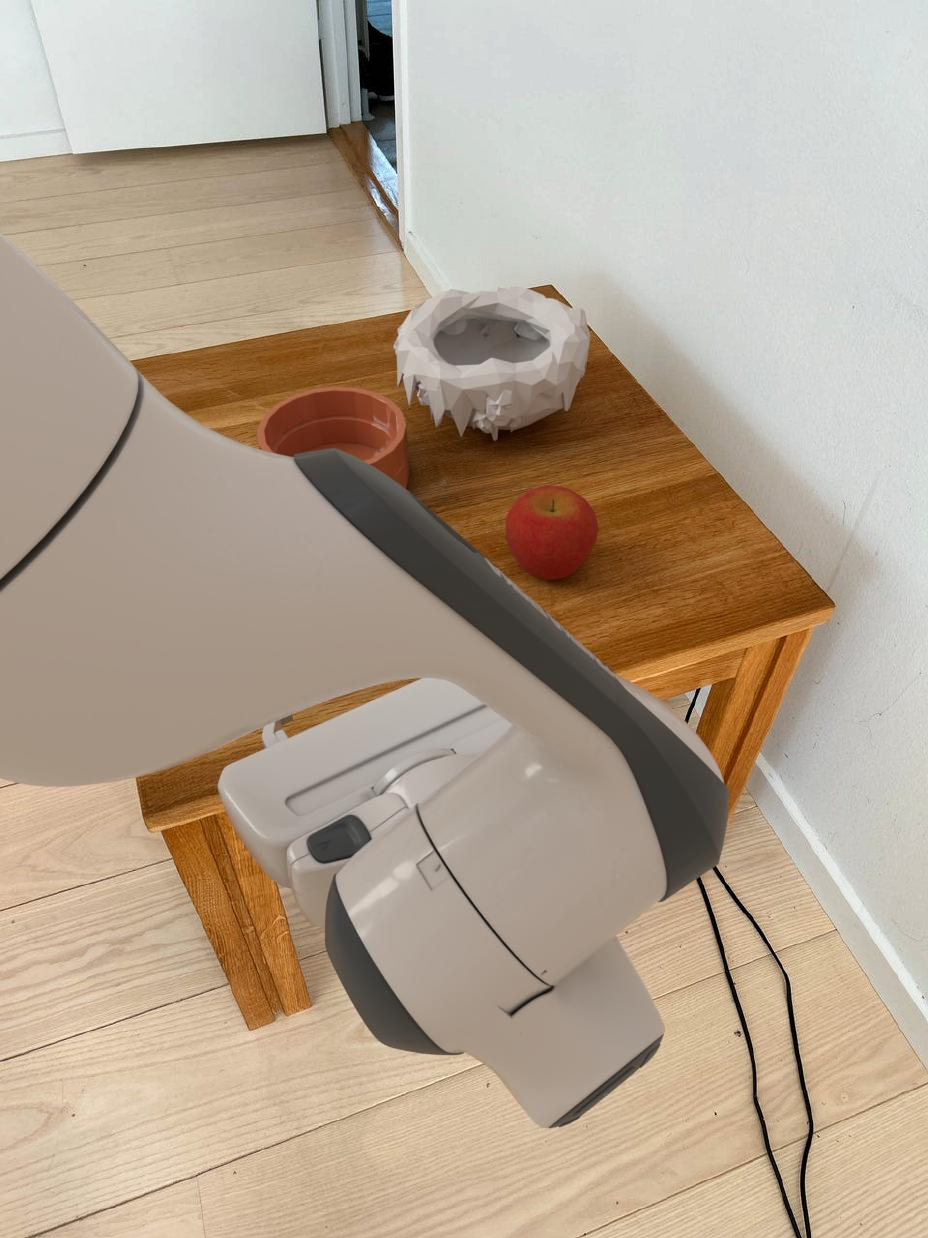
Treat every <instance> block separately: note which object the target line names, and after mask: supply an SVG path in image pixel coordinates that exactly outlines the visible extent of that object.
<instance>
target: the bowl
mask: <svg viewBox="0 0 928 1238" xmlns="http://www.w3.org/2000/svg"><path fill="white" fill-rule="evenodd" d="M586 315H587V314H586V311H585V310H584V309H583V308H581V307H570V305H569V306H568V305H566V304H565V303H563V302H561V301H560V300H557V299H555V298H552V297H550V298H549V297H546V296H545V295H544V294H542V293H539V292H537V291H535V290H533V289H530V288H525V287H519V286H513V287H508V288H504V287H496V288H494V289H491V290H488V291H485V290H479V291H475V292H468V291H464V290H460V289H455V288H450V289H447V290H445V291H443V292H441V293H438V294H436V295H434V296H432V297H430V298H427V299H426V300H424V301H423V302H421V303H420V304H418V305H417V306H415V307H414V308H412V309H411V310H410V312H409V313H408V315H407V317H406V318H405V320H404V321H403V323H402V324H401V325H400V326H399V327H398V328H397V329H396V330H397V334H398V336H397V337H396V340H395V341H394V344H393V349H394V353H395V355H396V375H397V376H396V377H397V378H396V380H397V382H396V383H397V388H399V387H400V386H401V385H402V384H403V386H404V390H405V393H406V398H407V403H408V407H410V406H411V403H412V399H413V396H414V394H415V393H414V392H416V393H417V394H416V397H417V399H418V402H419V403H420V405H421V406H422V407H423V406H425V407H428V406H429V411H430V420H431V422H432V421H434V425H435V429H437V428H438V427H439V426H440V425H441V423H442V420H443V417H444V416H445V417H448V418H450V419H451V420H454V423H455V425H456V428H457V430H458V433H459V435H460V438H462V437H463V436H464V432H465V430H466V428H467V427H472V429H473V430H475V429H479V430H481V431H482V432H483V433H485V434H491V436H492V439H493V442H495V441H497V440H498V436H499V435H498V433H499V430H501V431H503V430H504V431H507V430H509V431H510V433H513V431H516V430H518V429H522V428H525V427H528V426H530V425H532V424H535V423H536V422H538V421H540V420H542V419H544V418H546V417H548V416H550V415H552V414H554V413H556V412H558V411H560V410H561V409H563V410H564V411H565V412H568V411H569V409H570V407H571V405H572V402H573V399H574V395H575V393H576V388H577V386H578V384H579V383H580V386H582V384H583V377H584V375H585V373H586V369H587V364H588V363H587V362H588V356H589V350H590V341H591V337H592V336H591V332H590V330H589V327H588V322H587V316H586ZM433 419H434V420H433Z"/></svg>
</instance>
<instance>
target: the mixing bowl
mask: <svg viewBox="0 0 928 1238" xmlns="http://www.w3.org/2000/svg"><path fill="white" fill-rule="evenodd" d="M407 430H408V429H407V422H406V419H405V416H404V413H403V410H402V409H400V408H399V406H397V404H396V403H395V402H394V401H393V400H391V399H389V397H388V398H387V397H386V396H383V395H382V394H380V393H378V392H375V391H371V390H367V389H364V388H359V387H354V386H353V387H351V386H327V387H320V388H313V389H310V390H305V391H303V392H299V393H296V394H292V395H291V396H289V397H286V398H285V399H284V400H281V401H279V402H278V403H276V404H275V405H273V406H272V407H271V408H270V409H269V410H268V411H267V412H266V413H265V414H264V415H263V416H262V418H261V420H260V423H259V425H258V427H257V430H256V436H257V437H256V438H257V444H258V449H261V450H264V451H267V452H271V453H276V454H280V455H285V456H290V457H294V454H300V453H306V452H312V451H318V450H324V449H331V448H336V449H339V450H341V451H343V452H346V453H348V454H350V455H353V456H355V457H357V458H358V459H360V460H362V461H364V462H366V463H368V464H370V465H372V466H373V467H375V468H376V469H378V470H379V471H381V472H383V473H384V474H386V475H387V476H389V477H390V478H392V479H393V480H394V481H396V482H397V483H399V484H400V485H401V486H402V487H404V488H405V489H406V490H407V486H408V482H409V477H410V463H409V462H410V461H409V445H408V431H407Z"/></svg>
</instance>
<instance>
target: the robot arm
mask: <svg viewBox="0 0 928 1238" xmlns="http://www.w3.org/2000/svg"><path fill="white" fill-rule="evenodd" d="M413 679H417V680H415V681H412V682H410V683H409V684H406V685H404V686H401V687H399V688H397V689H395V690H393V691H390V692H388V693H385V694H383V695H381V696H379V697H377V698H374V699H372V700H370V701H368V702H366V703H363V704H361V705H359V706H356V707H354V708H352V709H350V710H347V711H346V712H343V713H341V714H339V715H337V716H335V717H332V718H330V719H328V720H326V721H323V722H321V723H319V724H317V725H314V726H312V727H310V728H307V729H306V730H303V731H301V732H298V733H297V734H295V735H292V736H290V737H288V735H287V733H286V731H285V729H283V726H284V725H286V724H288V723H289V724H290V723H291V722H293V721H294V716H293V715H294V714H296V713H299V712H302V711H304V710H306V709H309V708H311V707H314V706H317V705H320V704H322V703H325V702H328V701H330V700H333V699H336V698H338V697H342V696H345V695H348V694H351V693H354V692H357V691H361V690H365V689H368V688H372V687H375V686H378V685H383V684H388V683H392V682H397V681H403V680H404V681H405V680H413ZM260 729H262V734H261V742H262V745H263V749H261V750H258V751H256V752H254V753H252V754H250V755H248V756H245V757H243V758H240V759H238V760H236V761H234V762H232V763H229V764H228V765H226V766H224V768H223V769H222V771H221V773H220V776H219V779H218V782H217V784H216V785H217V787H216V788H217V791H218V795H219V798H220V801H221V803H222V806H223V808H224V810H225V813H226V815H227V817H228V819H229V821H230V823H231V825H232V827H233V829H234V830H235V832H236V834H237V836H238V837H239V839H240V841H241V842H242V844H243V846H244V847H245V848H246V850H247V852H248V853H249V854H250V856H251V857H252V858H253V860H254V861H255V862H256V864H257V865H258V866H259V868H260V869H261V870H262V871H263V872H264V875H266V876H267V877H268V878H269V879H270V880H272V882H274V883H276V884H277V885H279V886H281V887H283V888H287V889H291V892H292V895H293V897H294V900H295V902H296V905H297V906H298V909H299V910H300V912H301V914H302V916H303V917H304V918H305V920H306V922H308V923H309V925H311V926H313V927H320V928H321V927H324V947H325V950H326V953H327V956H328V958H329V961H330V963H331V965H332V967H333V970H334V971H335V973H336V975H337V977H338V979H339V981H340V983H341V985H342V987H343V989H344V991H345V993H346V994H347V996H348V998H349V1000H350V1001H351V1004H352V1005H353V1007H354V1009H355V1010H356V1012H357V1014H358V1016H359V1017H360V1019H361V1020H362V1022H363V1024H364V1025H365V1027H366V1028H367V1029H368V1030H369V1032H370V1033H371V1035H372V1036H373V1037H374V1038H375V1039H376V1040H377V1041H378V1042H379V1043H380V1044H382V1045H384V1046H386V1047H389V1048H391V1049H395V1050H399V1051H405V1052H409V1053H415V1054H422V1055H431V1056H432V1055H433V1056H460V1055H464V1054H466V1055H469V1056H471V1057H472V1058H474V1059H475V1060H477V1061H478V1062H480V1063H482V1064H483V1065H484V1066H486V1067H487V1068H488V1069H490V1070H491V1071H492V1072H493V1073H494V1074H495V1075H496V1076H497V1077H498V1079H499V1080H500V1081H501V1083H502V1084H503V1085H504V1086H505V1088H506V1089H507V1091H508V1092H510V1094H511V1096H512V1097H513V1098H514V1099H515V1102H517V1104H518V1105H519V1106H520V1107H521V1109H522V1110H523V1111H524V1112H525V1113H526V1115H527V1116H528V1118H530V1119H531V1121H533V1123H535V1125H536V1126H538V1127H540V1128H541V1129H542V1128H543V1129H554V1128H563V1127H566V1126H568V1125H570V1124H572V1123H574V1122H575V1121H578V1120H579V1119H580V1118H581V1117H582V1116H583V1115H584V1114H586V1113H587V1112H589V1111H590V1110H591V1109H592V1108H594V1107H595V1106H596V1105H597V1104H599V1103H600V1102H601V1101H603V1100H604V1099H605V1098H606V1097H607V1096H608V1095H610V1094H611V1093H612V1092H613V1091H615V1090H616V1089H617V1088H618V1087H619V1086H621V1085H622V1084H623V1083H625V1082H626V1081H627V1080H628V1079H629V1078H630V1077H632V1076H633V1075H635V1074H636V1072H637V1071H639V1069H642V1068H643V1067H644V1066H646V1065H647V1064H648V1063H649V1062H650V1061H651V1060H652V1059H653V1057H654V1056H655V1055H656V1053H657V1052H658V1051H659V1049H660V1047H661V1045H662V1044H661V1042H662V1040H663V1038H664V1036H665V1032H666V1026H665V1023H664V1021H663V1018H662V1015H661V1014H660V1011H659V1009H658V1008H657V1006H656V1004H655V1001H654V999H653V998H652V996H651V994H650V992H649V989H648V988H647V986H646V984H645V983H644V981H643V979H642V977H641V976H640V974H639V972H638V969H636V967H635V965H634V963H633V962H632V960H631V958H630V956H629V954H628V953H627V951H626V950H625V948H624V947H623V945H622V942H620V939H618V935H619V934H620V933H622V932H623V931H624V930H625V929H627V928H628V927H629V926H630V925H631V924H633V923H634V922H635V921H636V920H637V919H639V918H640V917H642V916H643V915H644V914H645V913H646V912H647V911H649V910H650V909H652V908H653V906H655V905H656V904H657V903H663V902H665V901H666V900H667V899H669V898H670V897H672V896H674V895H675V894H677V893H678V892H680V891H681V890H682V889H684V888H685V887H687V886H688V885H690V884H691V883H692V882H694V881H696V880H697V879H699V878H700V877H702V876H703V875H704V874H706V873H707V872H709V871H711V870H712V869H713V868H715V867H716V866H718V865H719V864H720V860H721V856H722V852H723V848H724V843H725V838H726V832H727V826H728V818H729V809H730V788H729V787H728V786H727V784H725V781H724V778H723V777H724V776H723V775H722V772H721V769H720V768H719V765H718V763H717V762H716V759H715V758H714V756H713V754H712V753H711V751H710V750H709V748H708V747H707V745H706V744H705V743H704V741H703V740H702V739H701V737H700V736H699V734H698V733H697V732H696V731H695V730H694V729H693V728H692V726H690V724H689V723H688V722H687V721H686V720H685V719H684V718H683V717H682V716H681V715H680V714H679V713H678V712H676V710H674V709H673V708H672V707H671V706H669V704H667V703H666V702H664V701H663V700H662V699H660V698H659V697H658V696H656V695H655V694H653V693H652V692H650V691H649V690H647V689H645V688H644V687H642V686H640V685H638V684H637V683H635V682H633V681H631V680H629V679H627V678H625V677H623V676H621V675H619V674H617V673H616V672H615V671H614V670H613V669H612V668H611V667H609V666H608V664H606V663H605V662H604V661H603V660H601V659H600V657H598V656H597V655H596V654H594V653H593V652H592V651H591V650H589V648H587V647H586V646H585V645H584V644H582V642H581V641H579V640H578V639H577V638H576V637H575V636H574V635H573V634H572V633H570V632H569V631H568V630H567V629H566V628H565V627H564V626H563V625H562V624H561V623H559V622H558V621H557V620H556V619H555V618H554V617H553V616H552V615H550V614H549V613H548V612H547V611H546V610H545V609H544V608H543V607H542V606H540V605H539V604H538V603H537V602H536V601H535V600H534V599H533V598H532V597H531V596H529V595H528V593H526V592H525V591H524V590H523V589H521V588H520V587H519V585H517V584H516V583H515V582H514V581H513V580H512V579H511V578H510V577H508V576H507V575H506V574H505V573H504V572H502V571H501V570H500V569H499V568H498V567H497V566H496V565H495V564H494V563H493V562H492V561H490V560H489V559H488V558H487V557H486V556H485V555H484V554H482V553H481V551H479V550H478V549H477V548H476V547H474V546H473V545H472V543H470V542H469V541H468V540H467V539H466V538H464V537H463V536H462V535H461V534H460V533H458V532H457V531H456V530H455V529H454V528H453V527H451V525H449V524H448V523H447V522H446V521H444V519H442V518H441V517H440V516H439V515H437V514H436V513H435V512H434V511H433V510H431V508H429V506H427V505H426V504H424V502H422V500H420V499H419V498H418V497H416V496H415V495H414V494H413V493H412V492H411V491H409V490H407V488H406V489H405V488H404V487H402V486H401V485H400V484H399V483H397V482H396V481H394V480H393V479H392V478H390V477H389V476H387V475H386V474H384V473H383V472H381V471H379V470H378V469H376V468H375V467H373V466H372V465H370V464H368V463H366V462H364V461H362V460H360V459H358V458H357V457H355V456H353V455H350V454H348V453H346V452H343V451H341V450H339V449H336V448H331V449H324V450H318V451H312V452H306V453H300V454H294V457H290V456H285V455H280V454H276V453H271V452H267V451H264V450H261V449H259V447H254V446H251V445H248V444H246V443H243V442H240V441H238V440H235V439H232V438H231V437H228V436H225V435H223V434H221V433H219V432H217V431H216V430H213V429H212V428H210V427H207V426H206V425H204V423H203V424H202V422H200V421H198V420H196V419H195V418H193V417H192V416H190V415H189V414H187V413H186V412H185V411H183V410H182V409H181V408H179V407H178V406H177V405H175V403H172V402H171V401H170V400H169V399H168V398H167V397H165V395H163V394H162V392H160V391H159V390H158V389H157V388H156V387H155V386H154V385H152V383H151V382H149V380H148V379H147V378H146V377H145V376H144V375H143V374H142V373H141V372H140V370H139V369H137V368H136V367H135V365H134V364H133V363H132V362H131V360H130V359H129V358H128V357H127V356H126V355H125V354H124V353H123V352H122V351H121V350H120V349H119V348H118V347H117V346H116V345H115V343H114V342H113V341H112V340H111V339H110V338H109V337H108V336H107V334H105V333H104V332H103V331H102V329H100V328H99V327H98V325H97V324H96V323H95V322H94V321H93V320H92V319H91V318H90V317H89V316H88V315H87V314H86V313H85V312H84V310H82V309H81V308H80V307H79V306H78V305H77V304H76V303H75V302H74V301H73V300H72V299H71V298H70V297H69V296H68V295H67V294H66V293H65V291H63V290H62V289H61V288H60V287H59V286H58V285H57V283H55V282H54V281H53V280H52V279H51V278H50V277H48V275H47V274H45V272H44V271H43V270H42V269H40V267H38V266H37V265H36V264H35V263H34V262H33V261H32V260H31V258H29V257H28V256H27V255H26V254H25V253H24V252H22V251H21V250H20V249H19V248H18V247H17V246H16V245H15V244H13V242H11V241H10V240H9V239H8V238H7V237H6V236H5V235H4V234H3V233H2V232H0V779H1V780H4V781H8V782H11V783H12V782H13V783H17V784H22V785H27V786H34V787H43V788H69V787H70V788H71V787H72V788H73V787H82V786H93V785H103V784H109V783H115V782H121V781H126V780H130V779H135V778H139V777H140V778H141V777H144V776H148V775H151V774H155V773H159V772H162V771H166V770H169V769H173V768H174V767H178V766H180V765H183V764H185V763H189V762H190V761H193V760H196V759H198V758H200V757H202V756H205V755H207V754H209V753H211V752H214V751H216V750H218V749H220V748H222V747H224V746H226V745H228V744H230V743H233V742H234V741H236V740H238V739H241V738H242V737H245V736H247V735H249V734H251V733H254V732H255V731H258V730H260Z"/></svg>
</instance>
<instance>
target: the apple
mask: <svg viewBox="0 0 928 1238" xmlns="http://www.w3.org/2000/svg"><path fill="white" fill-rule="evenodd" d="M598 535H599V524H598V518H597V515H596V512H595V510H594V509H593V507H592V506H591V505H590V503H589V502H588V501H587V499H586V498H584V497H583V496H581V495H580V494H578V493H577V492H575V491H574V490H572V489H571V488H567V487H564V486H559V485H543V486H539V487H535V488H532V489H528V490H527V491H526V492H524V493H523V494H522V495H520V496H519V497H518V498H517V499H516V500H515V502H514V504H513V505H512V506H511V508H510V509H509V511H508V513H507V515H506V517H505V539H506V542H507V546H508V548H509V550H510V552H511V555H512V556H513V558H514V559H515V560H516V562H517V564H518V565H519V566H520V567H521V569H522V570H523V571H524V572H526V573H527V574H529V575H531V576H533V577H535V578H539V579H541V580H560V579H564V578H567V577H570V576H571V575H572V574H573V573H575V572H576V571H577V570H578V569H580V567H582V566H583V565H584V563H585V562H586V561H587V559H588V557H589V556H590V553H591V552H592V550H593V548H594V546H595V543H596V541H597V540H598Z"/></svg>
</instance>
